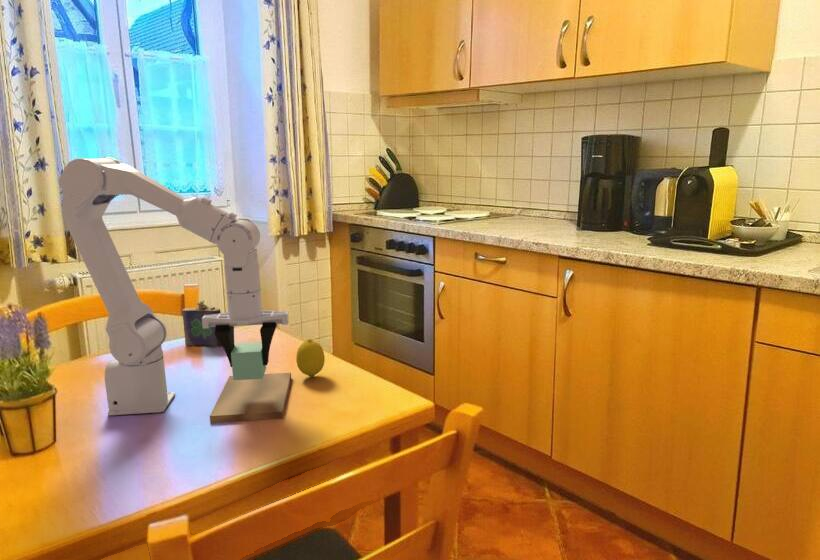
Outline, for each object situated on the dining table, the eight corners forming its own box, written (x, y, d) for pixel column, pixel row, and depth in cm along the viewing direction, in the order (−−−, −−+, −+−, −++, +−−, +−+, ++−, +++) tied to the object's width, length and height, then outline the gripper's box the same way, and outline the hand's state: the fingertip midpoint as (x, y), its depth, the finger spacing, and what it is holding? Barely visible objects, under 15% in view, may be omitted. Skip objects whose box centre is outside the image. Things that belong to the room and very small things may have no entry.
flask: (183, 347, 139) (179, 302, 136) (189, 343, 142) (185, 299, 139) (221, 347, 138) (217, 303, 135) (226, 343, 141) (222, 300, 138)
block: (233, 380, 103) (230, 353, 102) (238, 369, 108) (236, 343, 107) (262, 378, 104) (260, 351, 102) (266, 368, 108) (264, 342, 107)
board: (210, 422, 100) (209, 416, 100) (229, 381, 117) (229, 376, 117) (282, 418, 101) (282, 411, 101) (291, 378, 119) (291, 372, 118)
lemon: (319, 383, 116) (317, 344, 114) (293, 381, 117) (290, 343, 115) (329, 372, 121) (327, 335, 119) (303, 371, 122) (301, 334, 120)
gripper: (194, 297, 98) (202, 374, 101) (283, 293, 100) (289, 369, 103) (204, 287, 105) (211, 360, 108) (287, 284, 106) (292, 356, 109)
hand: (249, 364), depth 106 cm, fingers closed on block, 5 cm apart
